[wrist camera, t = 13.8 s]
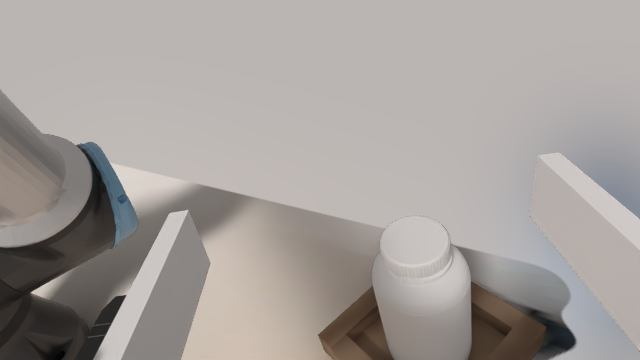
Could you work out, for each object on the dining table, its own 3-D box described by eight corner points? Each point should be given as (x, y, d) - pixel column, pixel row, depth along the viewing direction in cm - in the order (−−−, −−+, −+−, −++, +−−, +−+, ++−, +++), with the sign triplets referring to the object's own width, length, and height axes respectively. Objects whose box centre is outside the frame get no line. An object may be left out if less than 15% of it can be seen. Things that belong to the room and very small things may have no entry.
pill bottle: (371, 336, 41) (344, 235, 32) (431, 295, 43) (421, 190, 34) (424, 402, 35) (407, 301, 26) (490, 350, 37) (496, 240, 28)
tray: (324, 350, 42) (318, 334, 40) (417, 264, 48) (415, 247, 46) (442, 474, 32) (440, 460, 30) (542, 344, 38) (546, 327, 36)
